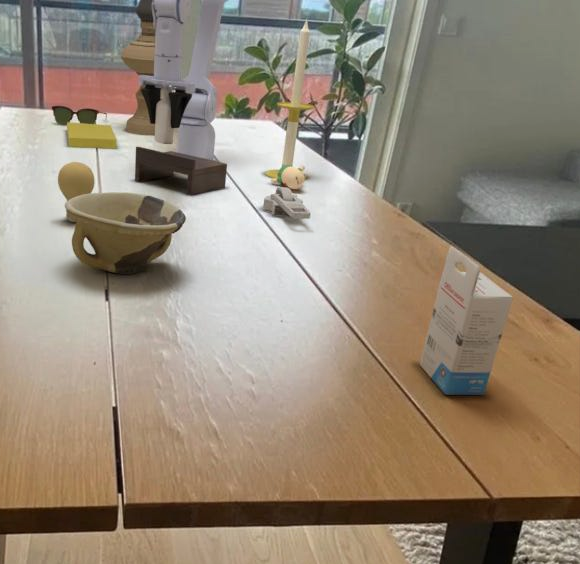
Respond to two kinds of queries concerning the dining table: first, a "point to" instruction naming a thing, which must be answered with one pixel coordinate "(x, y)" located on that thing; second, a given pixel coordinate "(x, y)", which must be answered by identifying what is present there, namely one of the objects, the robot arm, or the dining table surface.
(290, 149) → the candle
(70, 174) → the light bulb
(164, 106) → the eye dropper bottle
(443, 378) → the ink box
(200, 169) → the shelf
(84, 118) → the sunglasses
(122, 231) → the bowl
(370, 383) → the dining table surface
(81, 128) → the flat olive board
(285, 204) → the zipper pull
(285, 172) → the toy figurine
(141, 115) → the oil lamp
